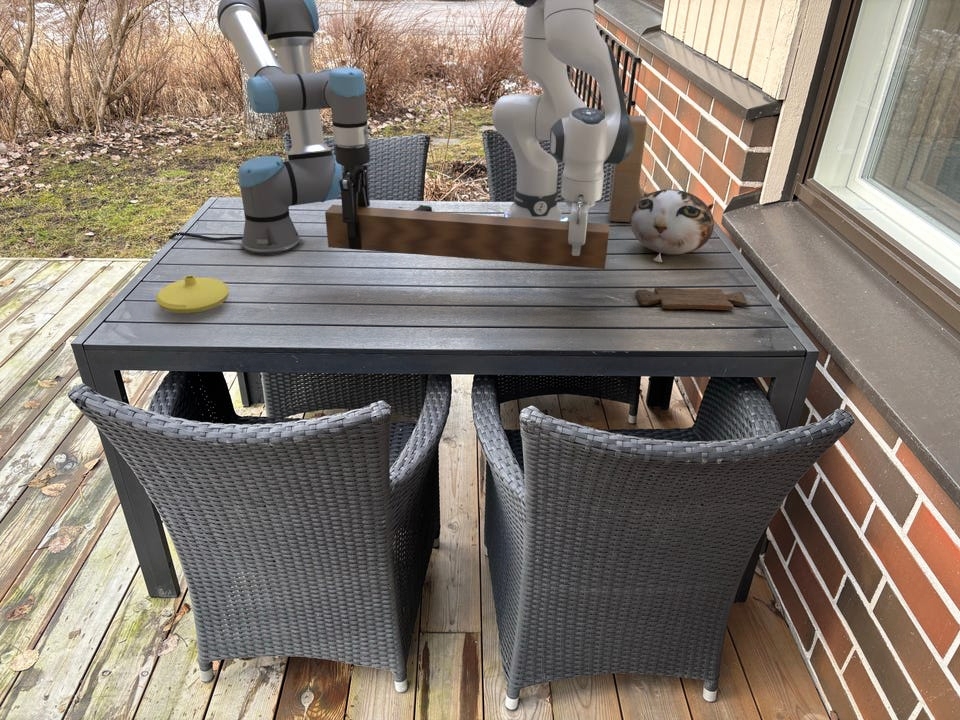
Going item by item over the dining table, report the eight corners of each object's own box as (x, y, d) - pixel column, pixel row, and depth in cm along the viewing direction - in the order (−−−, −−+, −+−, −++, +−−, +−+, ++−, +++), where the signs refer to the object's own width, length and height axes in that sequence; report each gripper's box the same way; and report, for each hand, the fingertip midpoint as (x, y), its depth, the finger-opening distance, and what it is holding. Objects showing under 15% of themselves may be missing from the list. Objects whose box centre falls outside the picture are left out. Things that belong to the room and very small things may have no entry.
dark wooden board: (752, 313, 165) (739, 295, 174) (753, 306, 165) (741, 288, 173) (640, 309, 166) (633, 291, 174) (641, 302, 165) (634, 284, 173)
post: (328, 247, 168) (324, 212, 163) (335, 239, 172) (332, 204, 168) (604, 269, 160) (609, 232, 155) (605, 259, 164) (609, 224, 160)
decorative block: (659, 224, 215) (674, 122, 200) (609, 221, 217) (620, 119, 201) (657, 216, 221) (672, 116, 206) (608, 213, 223) (619, 114, 208)
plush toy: (610, 241, 188) (634, 172, 190) (626, 265, 204) (648, 200, 205) (693, 258, 178) (718, 184, 179) (703, 281, 193) (726, 213, 195)
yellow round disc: (203, 285, 174) (198, 258, 170) (245, 302, 166) (240, 274, 162) (144, 308, 163) (137, 279, 159) (186, 328, 155) (179, 298, 151)
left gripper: (355, 156, 149) (363, 259, 161) (379, 135, 164) (385, 230, 176) (320, 154, 150) (330, 257, 161) (348, 133, 165) (355, 228, 177)
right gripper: (595, 205, 145) (589, 268, 152) (597, 175, 162) (591, 233, 169) (564, 203, 145) (559, 266, 153) (569, 174, 163) (565, 231, 170)
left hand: (359, 243), depth 169 cm, fingers closed on post, 5 cm apart
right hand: (576, 248), depth 161 cm, fingers closed on post, 5 cm apart
